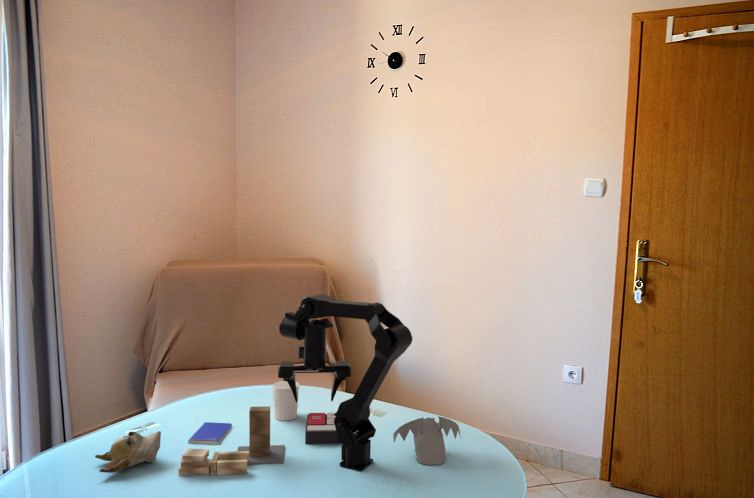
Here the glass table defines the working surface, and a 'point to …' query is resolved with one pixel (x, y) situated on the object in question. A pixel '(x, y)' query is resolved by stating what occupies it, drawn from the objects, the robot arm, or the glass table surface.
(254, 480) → the glass table surface
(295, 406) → the white cup
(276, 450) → the charcoal mat
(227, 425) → the hard drive
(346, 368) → the robot arm
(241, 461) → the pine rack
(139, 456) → the ceramic sculpture
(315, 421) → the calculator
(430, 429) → the figurine
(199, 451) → the offcut stack
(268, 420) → the walnut block
